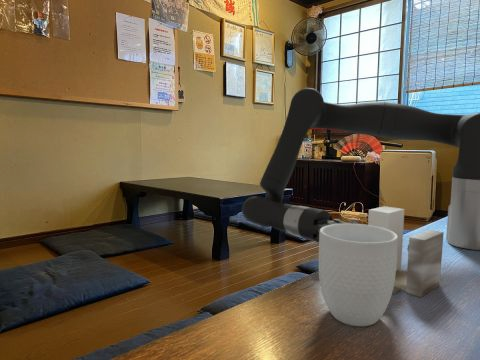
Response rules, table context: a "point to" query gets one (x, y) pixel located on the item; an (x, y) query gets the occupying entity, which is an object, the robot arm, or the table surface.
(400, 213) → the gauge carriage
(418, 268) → the gauge base
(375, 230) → the mug
